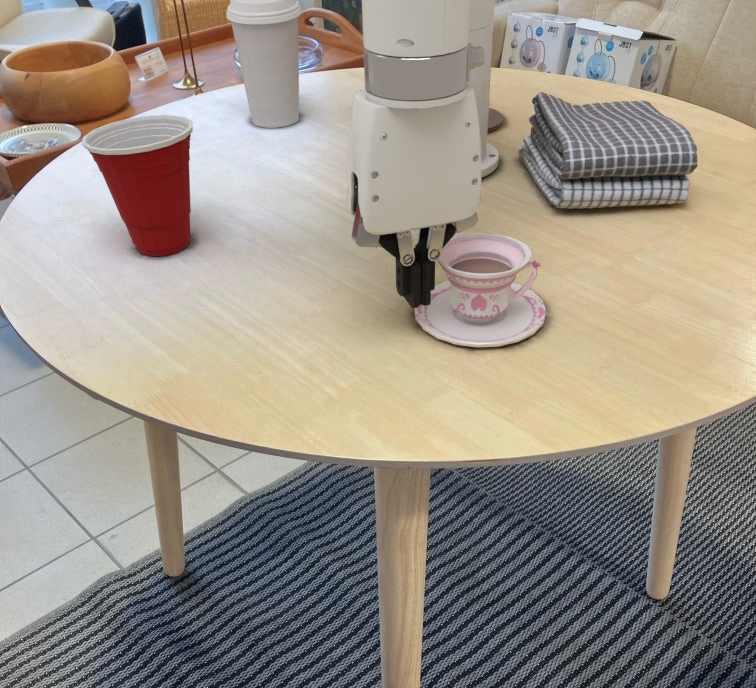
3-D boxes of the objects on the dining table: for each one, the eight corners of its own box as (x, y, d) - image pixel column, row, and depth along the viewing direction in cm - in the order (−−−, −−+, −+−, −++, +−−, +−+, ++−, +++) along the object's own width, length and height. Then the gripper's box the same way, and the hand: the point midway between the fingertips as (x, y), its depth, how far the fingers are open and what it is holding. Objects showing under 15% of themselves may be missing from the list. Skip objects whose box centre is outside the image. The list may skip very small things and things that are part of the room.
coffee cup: (307, 131, 114) (297, 3, 103) (236, 133, 114) (218, 6, 104) (312, 106, 121) (303, -16, 110) (245, 108, 121) (229, -13, 111)
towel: (556, 220, 92) (564, 146, 87) (516, 155, 105) (521, 88, 100) (692, 209, 93) (709, 135, 88) (636, 146, 106) (647, 79, 101)
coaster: (416, 115, 117) (416, 111, 116) (483, 104, 119) (483, 100, 119) (445, 140, 110) (446, 135, 109) (516, 128, 112) (516, 123, 112)
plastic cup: (175, 212, 96) (152, 100, 88) (233, 241, 91) (215, 124, 82) (90, 245, 91) (58, 129, 83) (147, 278, 85) (118, 157, 77)
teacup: (408, 347, 75) (407, 283, 71) (420, 280, 83) (420, 219, 79) (547, 353, 73) (555, 288, 69) (544, 284, 82) (551, 222, 78)
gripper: (487, 47, 67) (475, 266, 79) (303, 71, 63) (320, 296, 75) (531, 72, 61) (512, 303, 74) (333, 100, 58) (347, 337, 70)
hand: (415, 299), depth 74 cm, fingers closed
